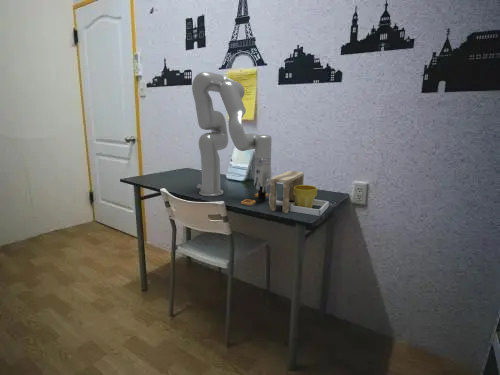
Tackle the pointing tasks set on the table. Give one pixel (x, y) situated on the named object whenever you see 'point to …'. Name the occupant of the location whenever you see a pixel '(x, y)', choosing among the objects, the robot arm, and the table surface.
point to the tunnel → (285, 188)
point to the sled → (303, 209)
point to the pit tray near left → (257, 195)
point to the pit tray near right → (248, 202)
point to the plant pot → (304, 195)
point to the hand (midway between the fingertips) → (261, 199)
